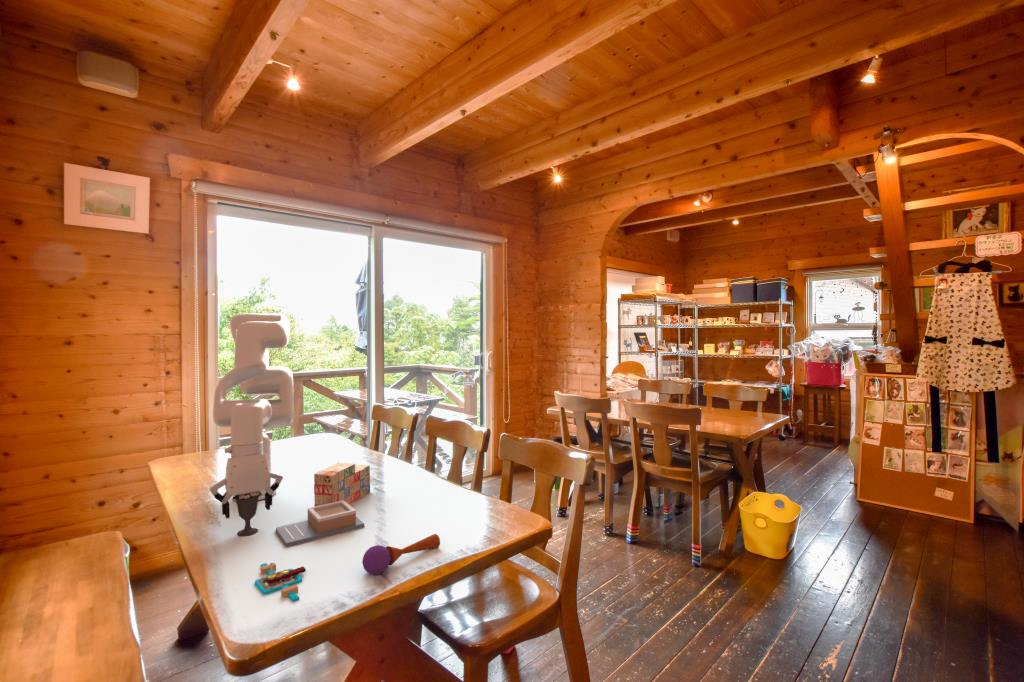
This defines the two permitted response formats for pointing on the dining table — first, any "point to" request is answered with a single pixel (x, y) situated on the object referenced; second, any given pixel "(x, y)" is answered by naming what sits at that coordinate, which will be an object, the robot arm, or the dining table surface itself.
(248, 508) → the sundae
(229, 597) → the dining table surface
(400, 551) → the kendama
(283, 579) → the gear mechanism
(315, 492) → the stack of blocks
